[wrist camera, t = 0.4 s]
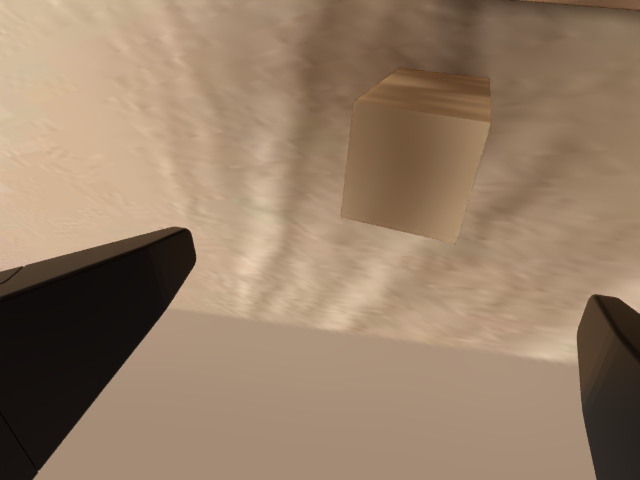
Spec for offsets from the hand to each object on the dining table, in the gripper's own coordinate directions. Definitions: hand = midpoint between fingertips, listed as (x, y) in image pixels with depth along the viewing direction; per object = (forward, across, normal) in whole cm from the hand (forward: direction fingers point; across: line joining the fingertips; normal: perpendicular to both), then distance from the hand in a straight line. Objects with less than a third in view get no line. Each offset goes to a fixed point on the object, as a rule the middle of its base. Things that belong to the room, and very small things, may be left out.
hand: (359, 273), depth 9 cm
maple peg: (+13, 0, 0) cm, 13 cm away
